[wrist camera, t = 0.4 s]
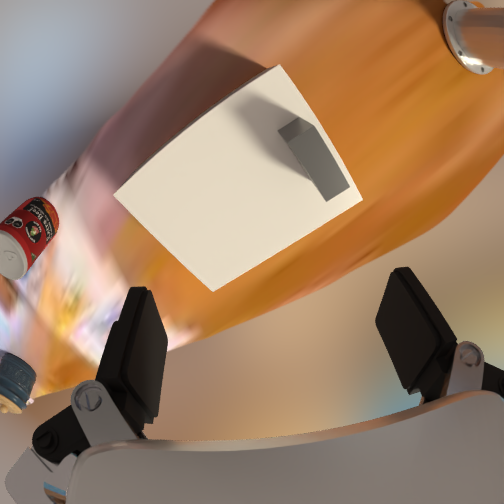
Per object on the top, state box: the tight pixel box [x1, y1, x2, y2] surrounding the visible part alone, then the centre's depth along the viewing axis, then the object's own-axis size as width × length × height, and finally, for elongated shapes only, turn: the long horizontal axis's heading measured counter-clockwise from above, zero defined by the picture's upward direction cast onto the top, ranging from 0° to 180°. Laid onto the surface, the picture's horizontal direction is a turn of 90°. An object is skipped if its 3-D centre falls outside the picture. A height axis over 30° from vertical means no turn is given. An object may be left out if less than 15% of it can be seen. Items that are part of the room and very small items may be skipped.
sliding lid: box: [114, 65, 363, 292], centre depth 26 cm, size 20×16×6 cm
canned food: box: [0, 197, 59, 280], centre depth 31 cm, size 8×8×11 cm
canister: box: [0, 354, 36, 414], centre depth 52 cm, size 13×13×18 cm
